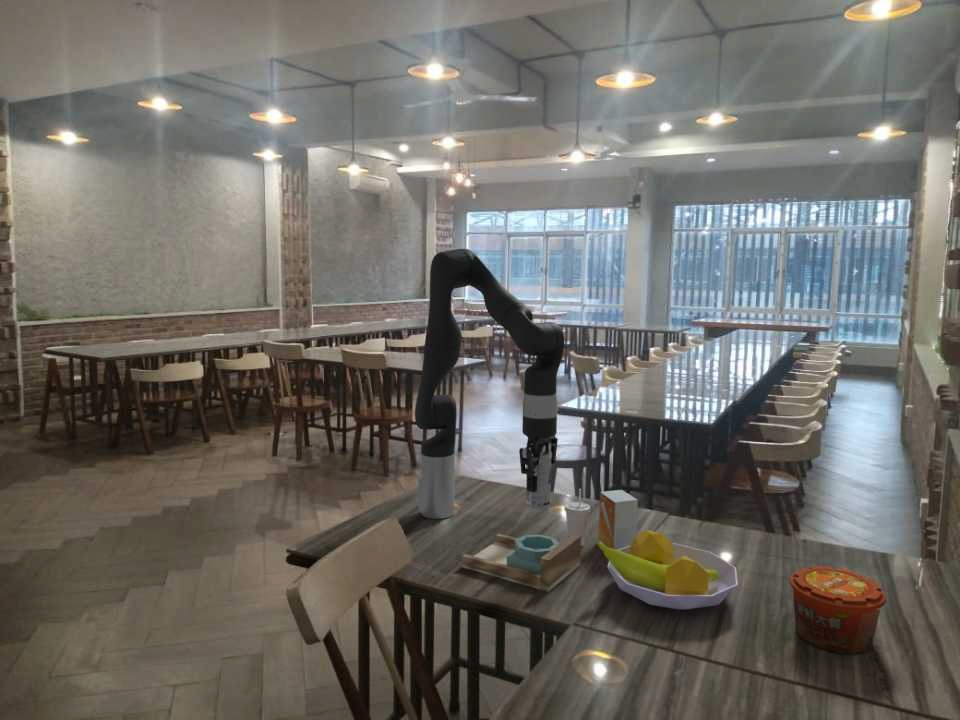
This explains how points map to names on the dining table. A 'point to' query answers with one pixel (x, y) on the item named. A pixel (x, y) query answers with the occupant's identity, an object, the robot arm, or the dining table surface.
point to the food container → (836, 608)
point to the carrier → (530, 552)
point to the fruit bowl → (670, 572)
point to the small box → (617, 519)
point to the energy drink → (541, 484)
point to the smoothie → (577, 518)
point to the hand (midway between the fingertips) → (538, 487)
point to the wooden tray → (551, 570)
